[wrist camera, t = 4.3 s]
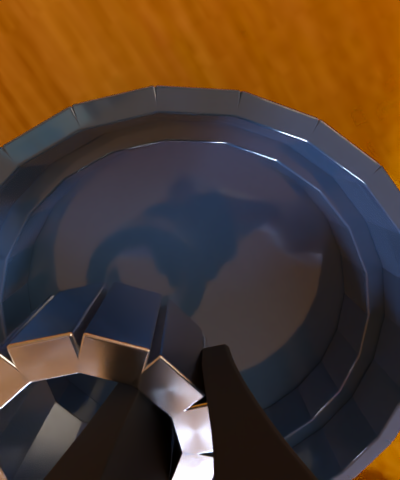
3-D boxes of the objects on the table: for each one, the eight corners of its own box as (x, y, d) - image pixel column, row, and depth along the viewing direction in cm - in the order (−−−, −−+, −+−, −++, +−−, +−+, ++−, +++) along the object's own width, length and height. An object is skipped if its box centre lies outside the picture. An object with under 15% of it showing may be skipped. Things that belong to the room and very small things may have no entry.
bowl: (353, 64, 10) (446, 15, 7) (373, 405, 15) (437, 495, 11) (-60, 161, 11) (-194, 166, 7) (76, 461, 15) (37, 564, 12)
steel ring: (188, 262, 8) (186, 308, 6) (228, 429, 10) (240, 520, 8) (-21, 306, 9) (-107, 369, 6) (54, 462, 10) (10, 560, 8)
